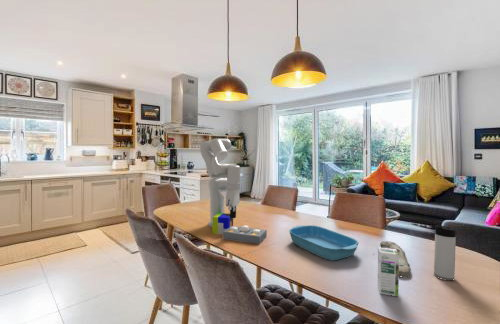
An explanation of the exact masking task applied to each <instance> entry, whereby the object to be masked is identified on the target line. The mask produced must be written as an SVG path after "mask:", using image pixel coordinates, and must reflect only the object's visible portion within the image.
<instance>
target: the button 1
mask: <svg viewBox="0 0 500 324" xmlns="http://www.w3.org/2000/svg"><path fill="white" fill-rule="evenodd" d="M237 227H238V226H237ZM237 227H230V231H237V230H238V228H237Z"/></svg>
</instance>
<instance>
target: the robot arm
mask: <svg viewBox="0 0 500 324" xmlns="http://www.w3.org/2000/svg"><path fill="white" fill-rule="evenodd" d="M231 149H232V143H231V140H230V139H228V138H213V139H211V140H205V141H202V142H201V143H200V145H199V151H200V155H201V157H202V159H203V161H204V163H205V167H206V171H207V175H208V177H209V178H210V180H209V181H208V189H209V190H208V191H209V200H210V202H209V210H210V211H209V214H210V215H209V216H210V219H209V222H208V223H207V226H208V227H211V228H213V216H215V215H216V214H218V213H225V208H226V207H227V209H228V210H229V214H230V218H233V219H236V218H237V207H238V206H239V204H240V199H241V198H240V197H241V195H240V190H241V167H240V165H237V164H236V163H221V162H223V161H224V160H226V158H227V157H228V152H230V151H231ZM222 192H223V193H224V192H226V194H225V197H224V195H223V193H222Z"/></svg>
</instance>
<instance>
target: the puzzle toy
mask: <svg viewBox="0 0 500 324" xmlns="http://www.w3.org/2000/svg"><path fill="white" fill-rule="evenodd" d="M231 226H234V218H230V213H218V214H216V215H215V216H213V227H212V234H215V235H223V231H225V230H226V229H228V228H229V227H231Z"/></svg>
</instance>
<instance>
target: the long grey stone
mask: <svg viewBox="0 0 500 324" xmlns="http://www.w3.org/2000/svg"><path fill="white" fill-rule="evenodd" d="M379 245H380V246H379V247H381V248H388V249H396V250H397V252H398V254H399V276H402V277H401V278H403V277H407V278H409V277H408V276H410V275H411V267H410V266H411V265H410V263H409V261H408V258H407V256H406V252H405V250H403V248H401V246H400V245H398V244H397V243H396V242H394V241H389V240H384V241H381V242H380V244H379Z"/></svg>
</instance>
